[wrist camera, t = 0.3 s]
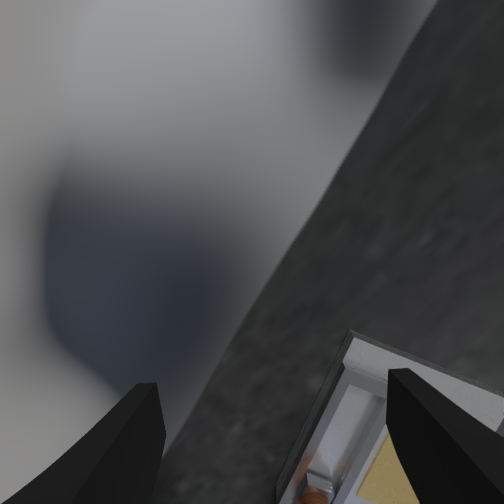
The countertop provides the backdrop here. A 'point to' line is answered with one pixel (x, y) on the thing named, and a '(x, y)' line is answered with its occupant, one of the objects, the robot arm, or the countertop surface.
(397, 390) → the robot arm
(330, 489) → the lever
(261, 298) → the countertop surface
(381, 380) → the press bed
